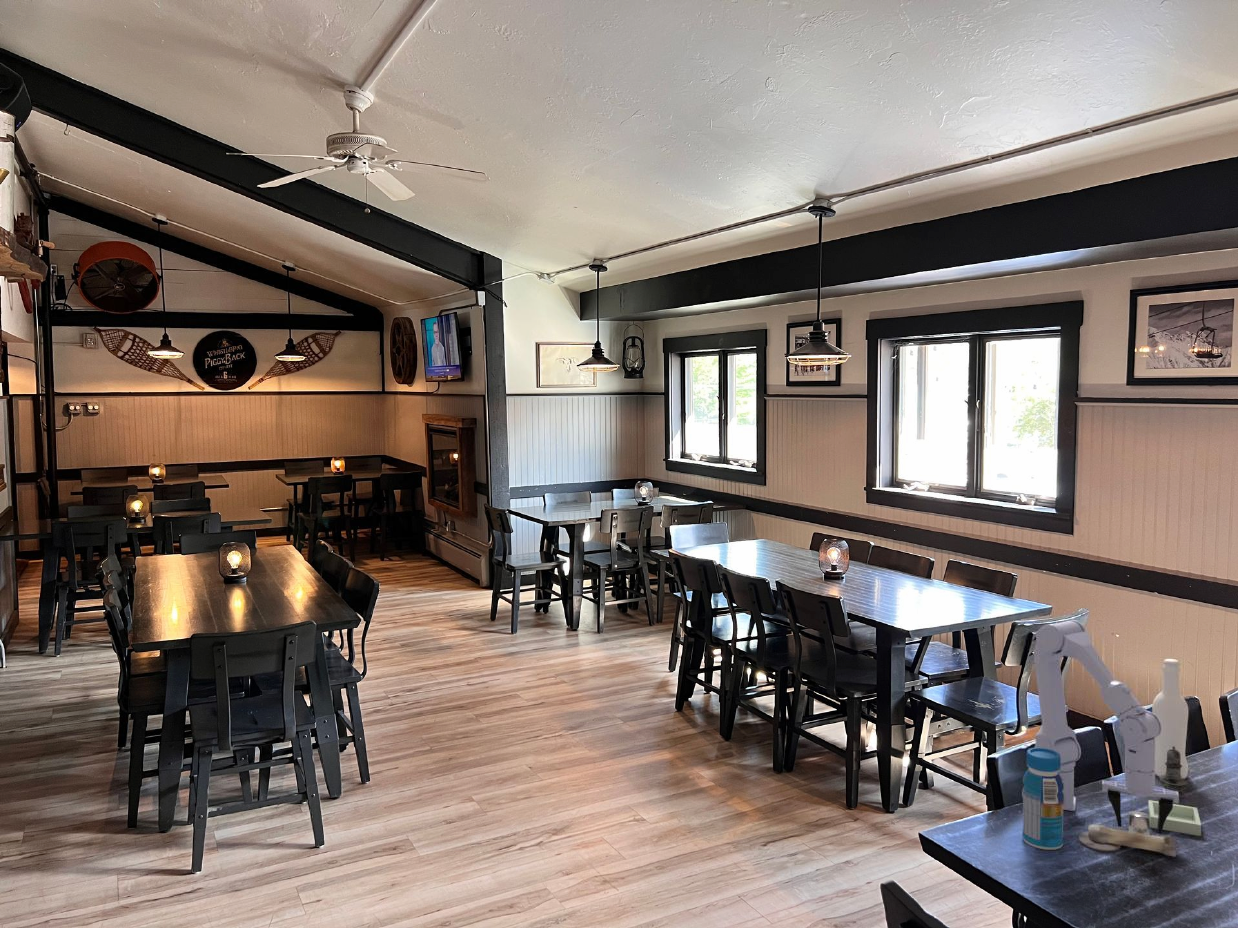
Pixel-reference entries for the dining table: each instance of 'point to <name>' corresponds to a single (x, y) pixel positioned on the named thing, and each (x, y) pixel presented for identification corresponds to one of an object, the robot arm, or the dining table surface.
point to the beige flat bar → (1132, 839)
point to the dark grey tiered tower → (1173, 773)
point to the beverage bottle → (1043, 800)
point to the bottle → (1170, 719)
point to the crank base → (1097, 843)
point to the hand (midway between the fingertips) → (1139, 828)
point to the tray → (1176, 818)
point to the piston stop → (1139, 822)
